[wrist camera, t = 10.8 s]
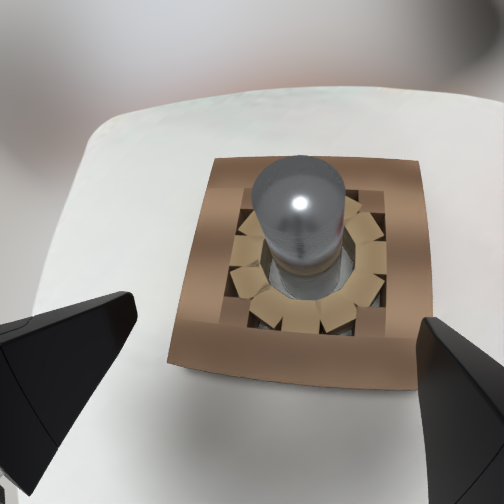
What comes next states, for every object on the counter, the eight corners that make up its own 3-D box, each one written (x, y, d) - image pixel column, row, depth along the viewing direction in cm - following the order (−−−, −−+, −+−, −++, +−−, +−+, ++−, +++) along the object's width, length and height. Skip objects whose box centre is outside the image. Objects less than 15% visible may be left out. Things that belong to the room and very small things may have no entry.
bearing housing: (416, 390, 18) (429, 389, 15) (185, 367, 22) (166, 362, 19) (411, 184, 24) (418, 160, 21) (225, 180, 28) (214, 158, 26)
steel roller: (313, 313, 22) (303, 253, 13) (269, 275, 24) (232, 199, 15) (351, 268, 22) (363, 184, 14) (307, 235, 24) (292, 142, 15)
